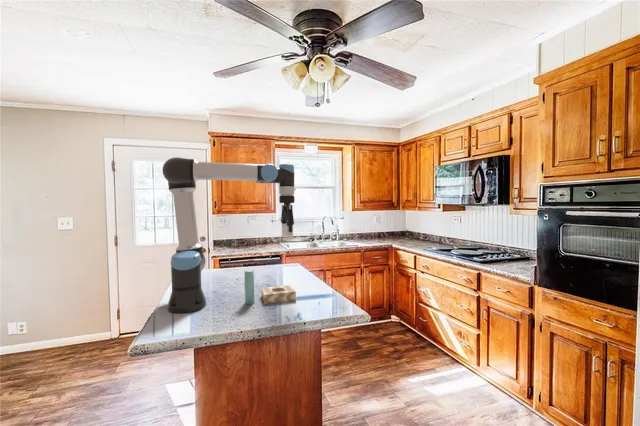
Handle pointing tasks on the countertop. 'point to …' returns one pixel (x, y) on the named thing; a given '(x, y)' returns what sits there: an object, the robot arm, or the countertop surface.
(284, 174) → the robot arm
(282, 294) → the socket block
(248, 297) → the dowel
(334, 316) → the countertop surface
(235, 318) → the countertop surface
